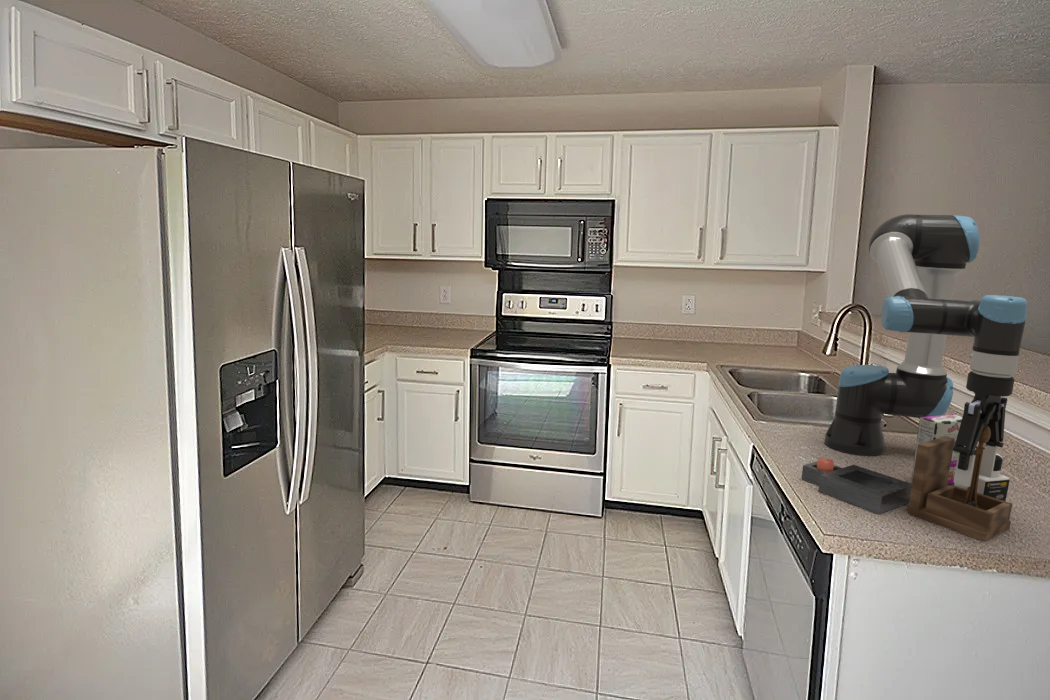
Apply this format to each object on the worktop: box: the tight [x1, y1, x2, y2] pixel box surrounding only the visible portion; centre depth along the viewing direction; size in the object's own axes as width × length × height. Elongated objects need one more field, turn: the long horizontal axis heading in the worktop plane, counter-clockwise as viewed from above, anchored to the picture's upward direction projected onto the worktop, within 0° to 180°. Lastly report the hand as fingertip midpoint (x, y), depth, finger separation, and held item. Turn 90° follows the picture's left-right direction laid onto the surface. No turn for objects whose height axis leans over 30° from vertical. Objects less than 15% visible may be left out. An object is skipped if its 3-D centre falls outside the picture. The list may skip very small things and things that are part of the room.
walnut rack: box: [906, 436, 1013, 542], centre depth 131 cm, size 12×14×16 cm
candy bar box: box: [911, 414, 965, 486], centre depth 153 cm, size 11×5×16 cm, turn 107°
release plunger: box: [817, 457, 835, 472], centre depth 152 cm, size 4×4×5 cm
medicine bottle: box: [954, 449, 1010, 502], centre depth 142 cm, size 7×7×12 cm
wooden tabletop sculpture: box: [961, 425, 991, 508], centre depth 130 cm, size 6×5×20 cm
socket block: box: [801, 460, 912, 515], centre depth 146 cm, size 14×20×4 cm
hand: (972, 479), depth 130 cm, fingers open, 9 cm apart
